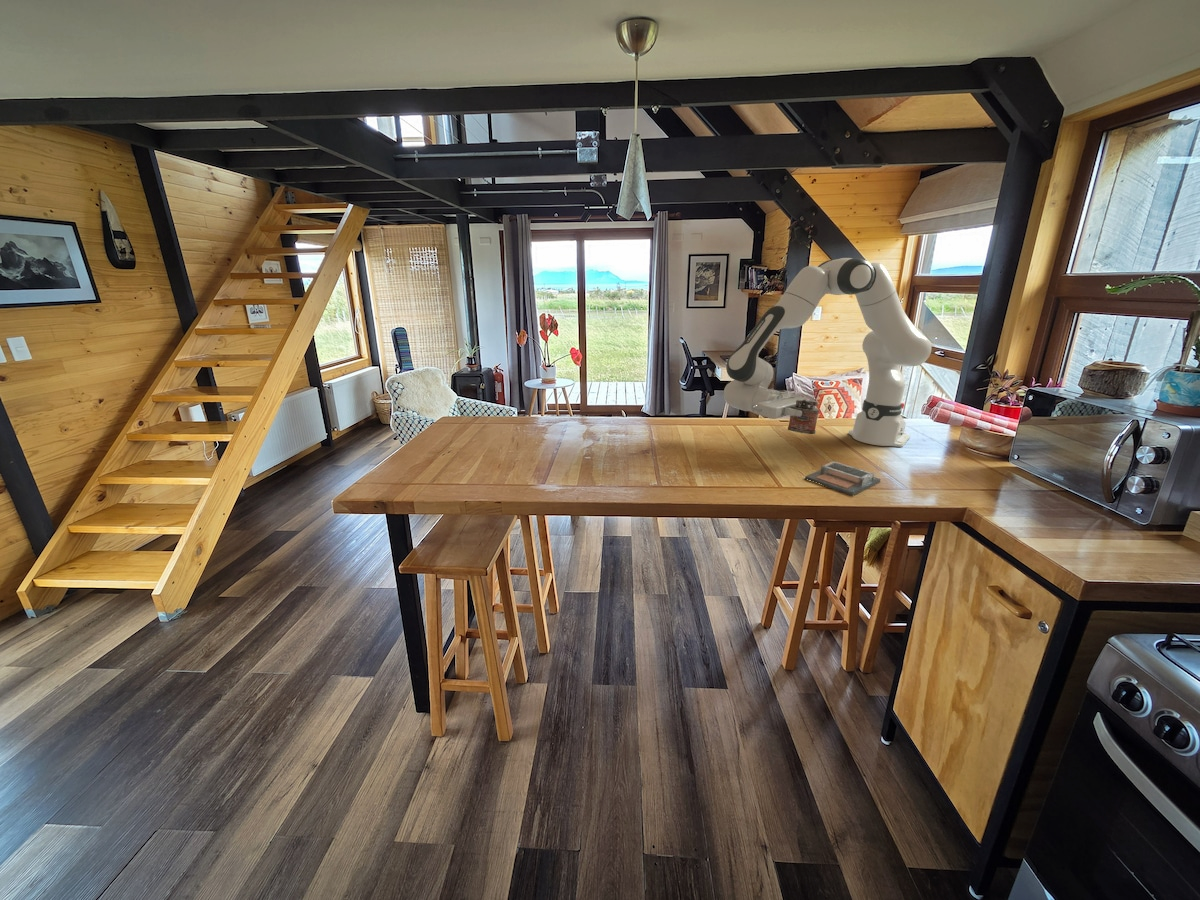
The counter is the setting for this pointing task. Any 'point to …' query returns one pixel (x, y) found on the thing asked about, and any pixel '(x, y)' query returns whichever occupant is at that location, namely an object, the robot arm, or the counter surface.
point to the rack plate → (843, 478)
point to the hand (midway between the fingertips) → (807, 412)
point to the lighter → (804, 417)
